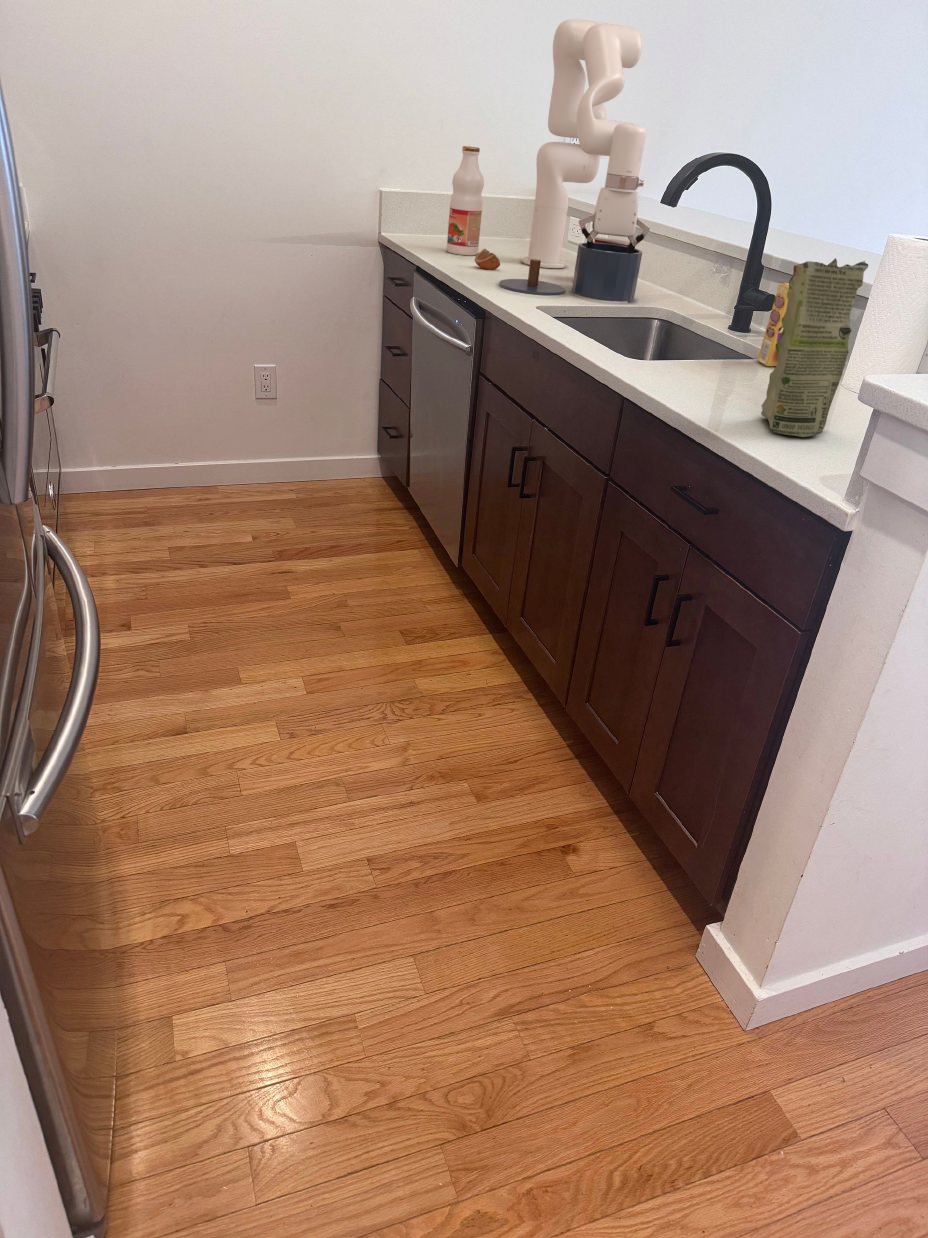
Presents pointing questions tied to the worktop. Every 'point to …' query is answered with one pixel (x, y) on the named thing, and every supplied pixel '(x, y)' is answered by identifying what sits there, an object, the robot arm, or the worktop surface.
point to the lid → (532, 283)
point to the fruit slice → (487, 260)
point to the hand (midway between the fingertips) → (608, 260)
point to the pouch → (812, 346)
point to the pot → (606, 272)
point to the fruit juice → (466, 205)
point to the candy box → (774, 327)
